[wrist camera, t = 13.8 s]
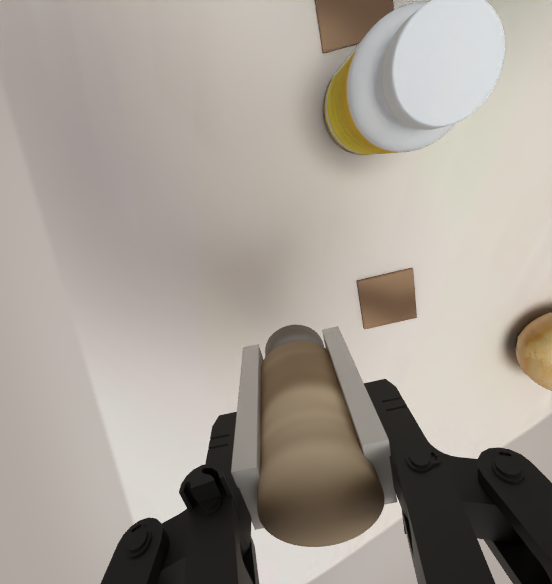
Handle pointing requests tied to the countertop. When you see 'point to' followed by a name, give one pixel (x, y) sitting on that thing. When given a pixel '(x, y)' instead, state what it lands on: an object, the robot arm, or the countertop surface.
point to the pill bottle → (415, 76)
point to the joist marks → (334, 35)
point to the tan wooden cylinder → (310, 448)
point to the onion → (537, 350)
